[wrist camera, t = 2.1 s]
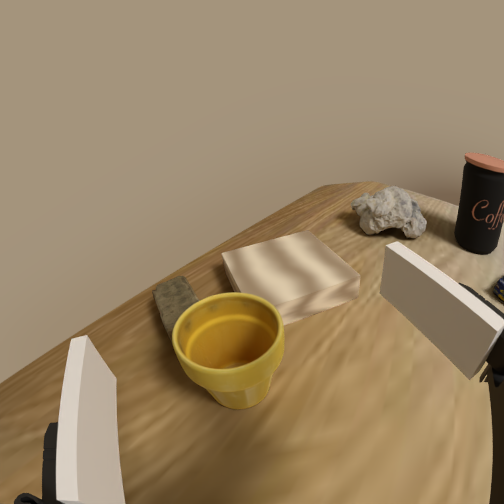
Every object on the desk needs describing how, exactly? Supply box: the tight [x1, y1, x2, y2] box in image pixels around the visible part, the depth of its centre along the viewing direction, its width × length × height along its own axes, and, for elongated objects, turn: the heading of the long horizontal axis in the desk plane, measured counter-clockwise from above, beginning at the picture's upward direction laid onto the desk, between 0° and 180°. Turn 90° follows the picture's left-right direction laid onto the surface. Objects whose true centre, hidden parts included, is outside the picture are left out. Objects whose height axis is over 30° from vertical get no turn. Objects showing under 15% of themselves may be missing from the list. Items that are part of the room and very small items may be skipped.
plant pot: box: [172, 292, 284, 409], centre depth 28 cm, size 10×10×10 cm
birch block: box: [222, 230, 360, 326], centre depth 45 cm, size 16×16×4 cm
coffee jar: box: [454, 153, 504, 255], centre depth 43 cm, size 11×11×18 cm
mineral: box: [351, 186, 427, 238], centre depth 55 cm, size 12×17×10 cm
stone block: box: [152, 276, 199, 342], centre depth 40 cm, size 6×12×5 cm, turn 28°
